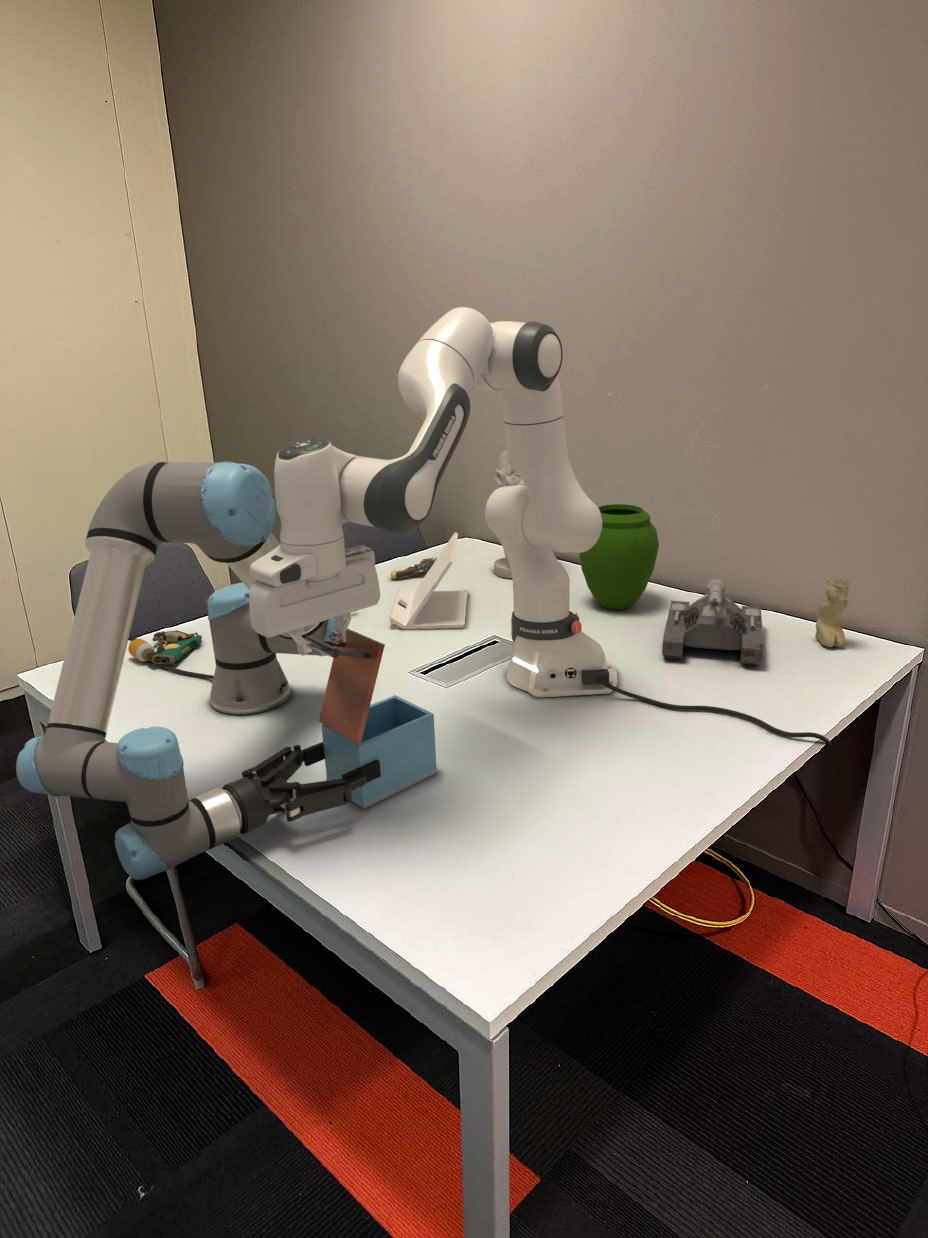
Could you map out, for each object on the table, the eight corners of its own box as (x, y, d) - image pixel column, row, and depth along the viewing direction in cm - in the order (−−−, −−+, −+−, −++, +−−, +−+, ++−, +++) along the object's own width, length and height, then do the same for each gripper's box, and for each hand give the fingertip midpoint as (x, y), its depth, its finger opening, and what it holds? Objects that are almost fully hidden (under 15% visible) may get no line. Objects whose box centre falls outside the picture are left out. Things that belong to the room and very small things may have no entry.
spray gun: (170, 638, 203) (220, 649, 197) (115, 660, 188) (167, 673, 183) (168, 621, 202) (219, 632, 196) (113, 642, 187) (166, 654, 181)
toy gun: (388, 572, 237) (422, 569, 235) (405, 557, 255) (437, 554, 253) (389, 581, 238) (424, 578, 235) (406, 566, 255) (438, 563, 253)
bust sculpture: (503, 593, 225) (502, 460, 212) (483, 567, 247) (480, 445, 234) (562, 587, 228) (563, 456, 215) (536, 562, 250) (536, 441, 237)
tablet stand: (467, 593, 225) (465, 531, 219) (465, 628, 202) (462, 559, 196) (399, 594, 226) (395, 532, 220) (388, 629, 203) (384, 560, 197)
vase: (599, 587, 227) (601, 497, 218) (668, 600, 216) (673, 505, 208) (562, 608, 212) (564, 513, 204) (634, 623, 202) (639, 523, 193)
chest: (398, 751, 148) (395, 694, 144) (436, 772, 141) (434, 713, 137) (327, 784, 139) (321, 724, 135) (363, 808, 132) (358, 746, 128)
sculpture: (821, 649, 184) (830, 583, 179) (808, 637, 191) (816, 573, 185) (848, 649, 184) (858, 582, 179) (834, 636, 191) (843, 572, 185)
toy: (670, 620, 203) (673, 559, 198) (758, 626, 197) (764, 564, 192) (661, 662, 180) (665, 594, 175) (761, 670, 175) (768, 601, 169)
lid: (345, 627, 134) (302, 622, 128) (385, 644, 127) (340, 639, 121) (323, 721, 135) (279, 720, 129) (361, 743, 128) (316, 743, 122)
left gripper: (198, 802, 130) (320, 751, 144) (274, 868, 115) (404, 804, 129) (191, 759, 128) (316, 711, 142) (268, 821, 112) (401, 760, 126)
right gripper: (360, 538, 129) (366, 624, 134) (238, 568, 116) (250, 661, 121) (386, 546, 125) (391, 634, 129) (262, 578, 112) (273, 674, 117)
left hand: (358, 755), depth 135 cm, fingers closed on chest, 10 cm apart
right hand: (322, 647), depth 125 cm, fingers open, 4 cm apart
